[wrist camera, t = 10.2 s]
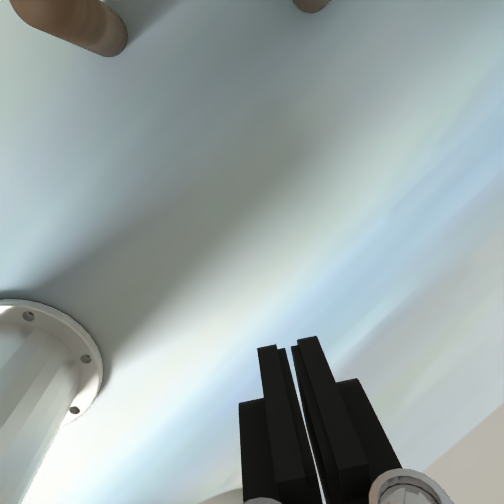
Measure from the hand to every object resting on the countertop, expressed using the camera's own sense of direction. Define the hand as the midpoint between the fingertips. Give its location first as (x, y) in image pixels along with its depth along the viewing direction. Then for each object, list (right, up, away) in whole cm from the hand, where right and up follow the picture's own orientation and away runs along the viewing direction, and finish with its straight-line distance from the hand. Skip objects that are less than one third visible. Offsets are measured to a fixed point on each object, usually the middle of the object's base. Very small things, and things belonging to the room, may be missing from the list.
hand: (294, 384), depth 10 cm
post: (-10, +17, +13) cm, 24 cm away
